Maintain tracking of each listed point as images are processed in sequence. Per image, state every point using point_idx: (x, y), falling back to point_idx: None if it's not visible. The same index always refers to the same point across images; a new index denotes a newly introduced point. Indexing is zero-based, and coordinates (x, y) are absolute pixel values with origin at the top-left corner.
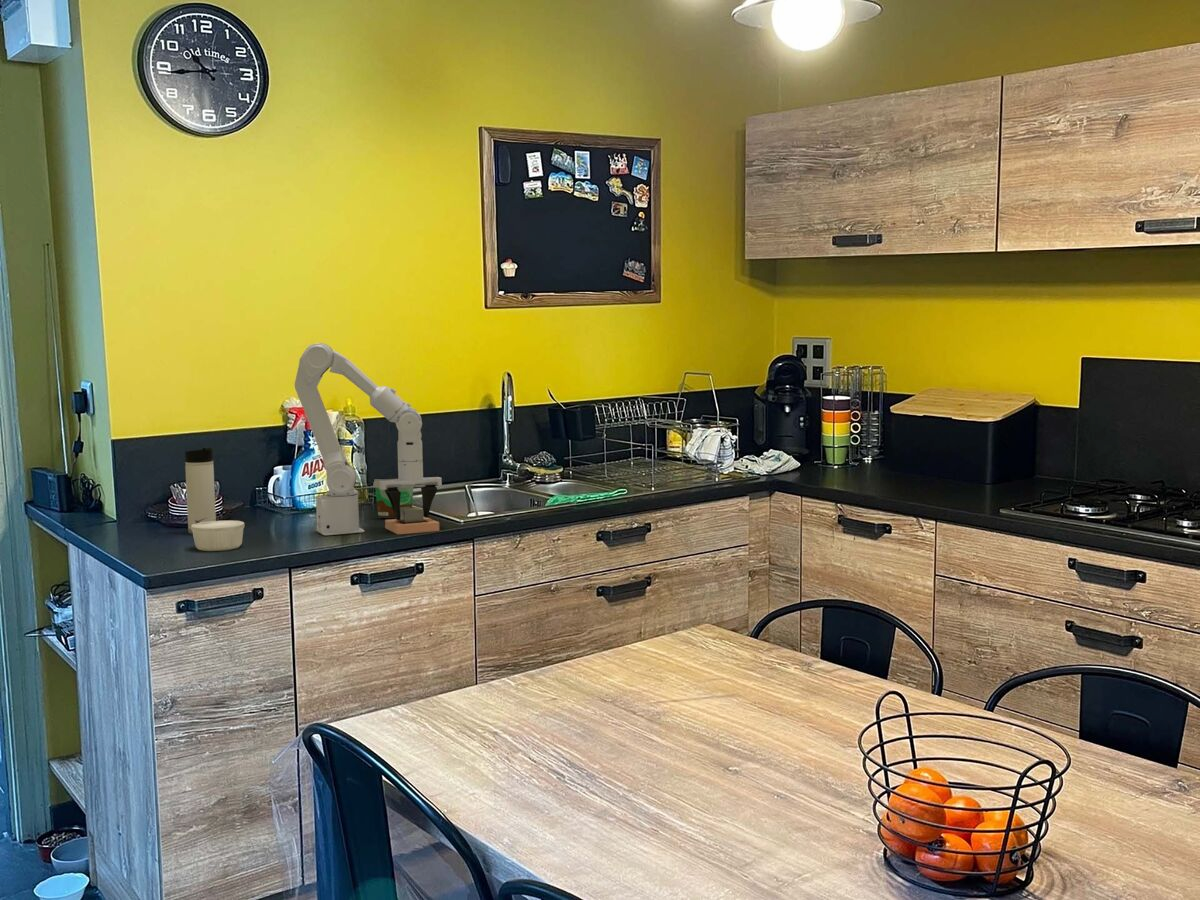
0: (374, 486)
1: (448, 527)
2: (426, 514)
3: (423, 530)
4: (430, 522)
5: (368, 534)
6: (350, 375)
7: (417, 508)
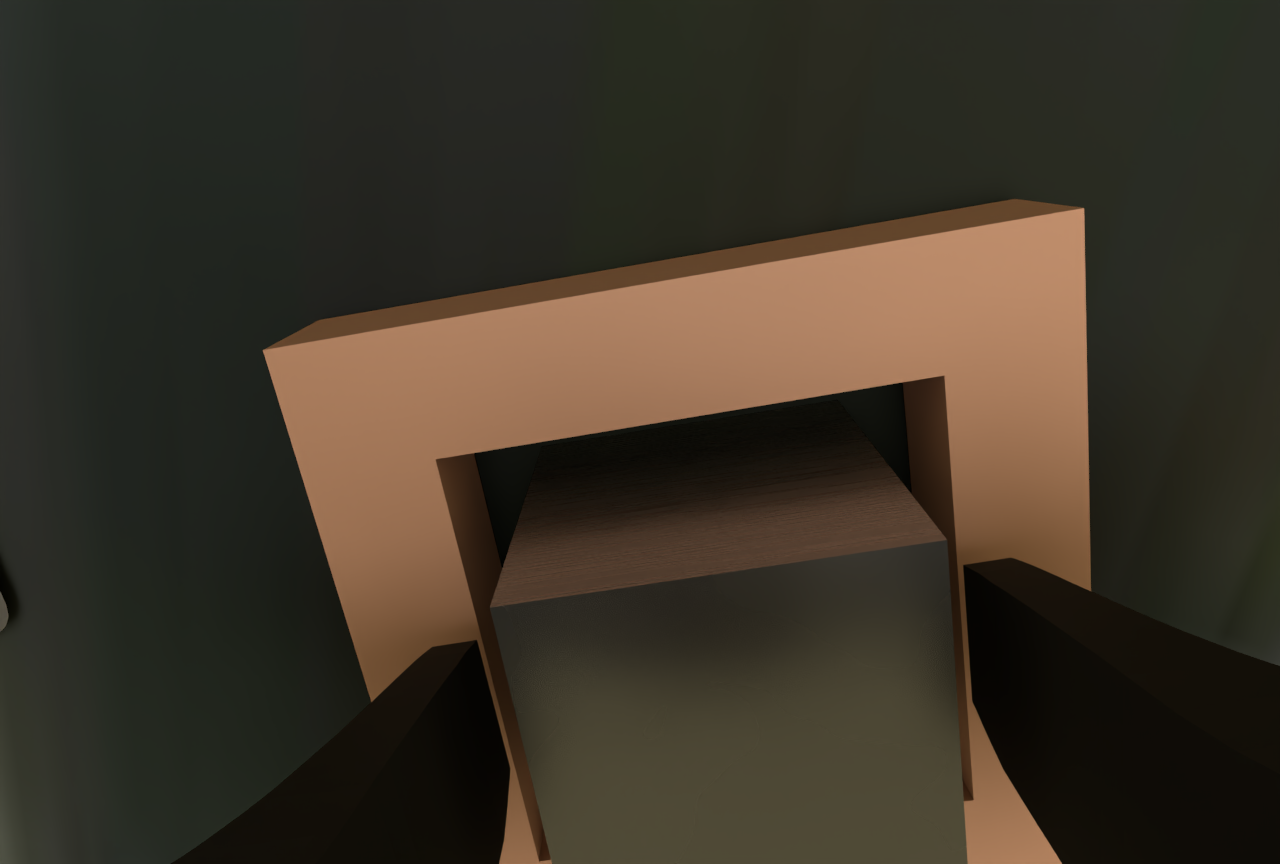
0: None
1: (1256, 558)
2: (1004, 755)
3: None
4: (970, 853)
5: (91, 736)
6: None
7: (883, 767)
